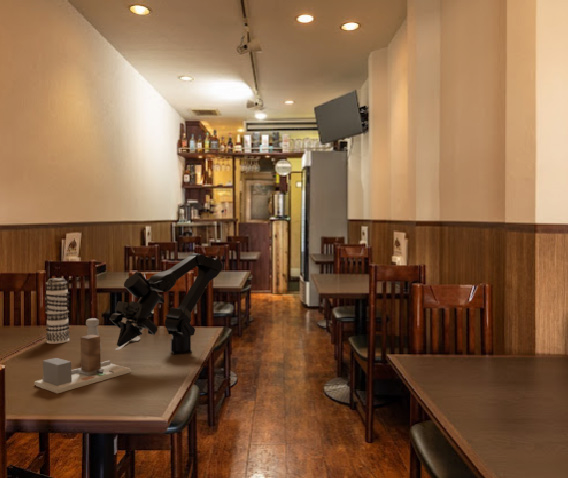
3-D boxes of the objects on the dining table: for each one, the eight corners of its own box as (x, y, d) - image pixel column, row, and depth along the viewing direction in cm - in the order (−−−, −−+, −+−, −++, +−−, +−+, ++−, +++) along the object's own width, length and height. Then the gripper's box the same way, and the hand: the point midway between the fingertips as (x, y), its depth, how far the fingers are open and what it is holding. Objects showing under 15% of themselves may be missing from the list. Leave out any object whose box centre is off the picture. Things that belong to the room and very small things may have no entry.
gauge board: (107, 366, 165) (107, 344, 165) (130, 372, 158) (130, 349, 157) (34, 385, 146) (34, 360, 145) (57, 393, 138) (56, 367, 138)
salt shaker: (95, 357, 175) (94, 320, 175) (80, 357, 176) (79, 320, 176) (104, 353, 181) (104, 317, 180) (90, 353, 182) (89, 317, 182)
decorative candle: (73, 341, 200) (71, 278, 199) (47, 345, 195) (46, 280, 194) (68, 337, 207) (66, 276, 207) (43, 340, 202) (42, 278, 202)
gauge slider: (92, 368, 157) (92, 333, 157) (109, 373, 152) (108, 337, 152) (77, 372, 153) (77, 336, 153) (94, 377, 148) (93, 340, 148)
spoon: (143, 339, 204) (142, 335, 204) (118, 352, 184) (118, 348, 184) (133, 339, 205) (133, 335, 205) (107, 352, 184) (107, 348, 184)
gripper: (112, 289, 170) (84, 328, 162) (148, 293, 159) (120, 335, 151) (133, 308, 177) (107, 347, 168) (168, 314, 166) (142, 355, 157)
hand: (118, 345), depth 161 cm, fingers closed
